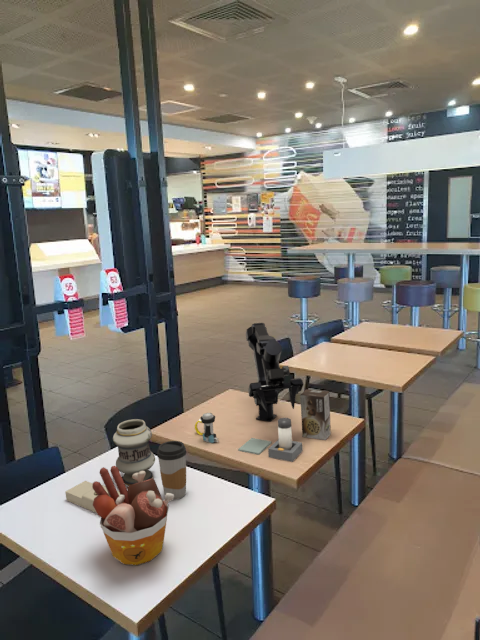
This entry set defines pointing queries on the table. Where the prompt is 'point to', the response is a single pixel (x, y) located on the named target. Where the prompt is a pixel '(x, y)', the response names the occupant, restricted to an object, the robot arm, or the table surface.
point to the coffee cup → (173, 468)
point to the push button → (208, 427)
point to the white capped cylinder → (285, 433)
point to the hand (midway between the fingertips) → (280, 409)
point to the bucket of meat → (131, 516)
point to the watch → (197, 428)
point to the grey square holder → (285, 451)
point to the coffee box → (315, 414)
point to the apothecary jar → (133, 450)
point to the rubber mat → (255, 446)
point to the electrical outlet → (83, 495)
